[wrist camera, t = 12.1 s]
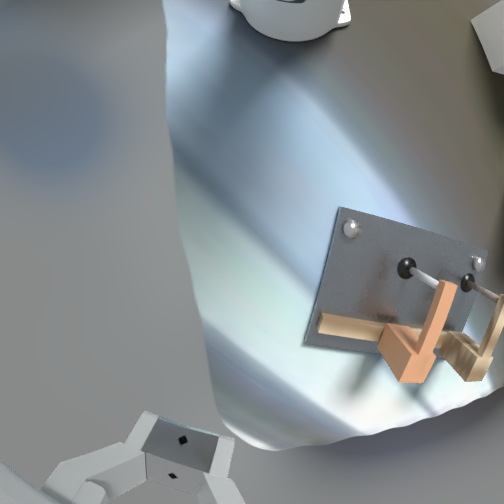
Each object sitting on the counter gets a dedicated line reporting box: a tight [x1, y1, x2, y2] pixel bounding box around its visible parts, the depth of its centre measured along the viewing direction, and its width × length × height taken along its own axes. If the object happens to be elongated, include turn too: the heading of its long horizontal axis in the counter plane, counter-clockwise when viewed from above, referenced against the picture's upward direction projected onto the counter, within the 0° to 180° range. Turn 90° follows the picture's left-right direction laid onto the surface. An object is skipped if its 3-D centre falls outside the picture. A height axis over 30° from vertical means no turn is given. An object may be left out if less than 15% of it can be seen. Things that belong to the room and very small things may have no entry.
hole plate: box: [304, 207, 488, 359], centre depth 38 cm, size 20×28×2 cm
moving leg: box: [377, 267, 457, 383], centre depth 33 cm, size 13×4×10 cm, turn 169°
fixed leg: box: [317, 281, 504, 382], centre depth 33 cm, size 13×26×11 cm, turn 79°
